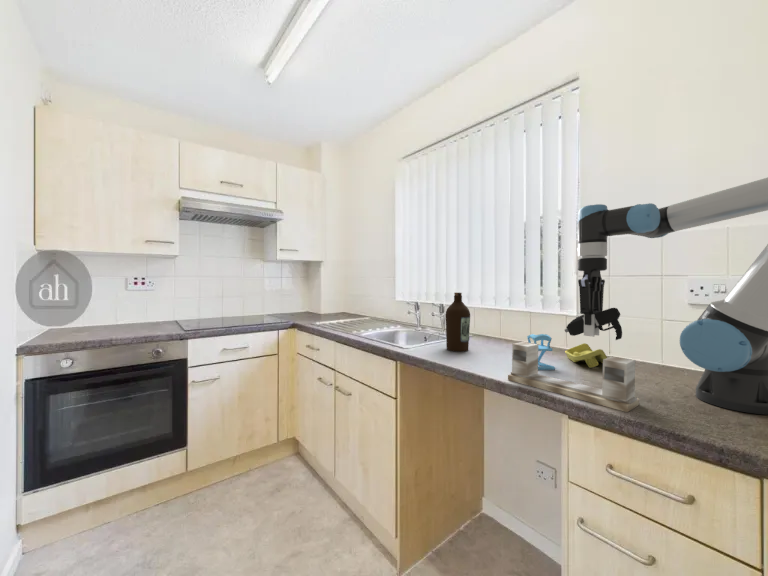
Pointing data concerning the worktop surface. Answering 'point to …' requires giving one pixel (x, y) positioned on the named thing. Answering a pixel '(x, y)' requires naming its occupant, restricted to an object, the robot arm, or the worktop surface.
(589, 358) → the plastic component
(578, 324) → the gun
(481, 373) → the worktop surface
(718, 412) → the worktop surface
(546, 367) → the chair
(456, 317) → the olive oil
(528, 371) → the board
